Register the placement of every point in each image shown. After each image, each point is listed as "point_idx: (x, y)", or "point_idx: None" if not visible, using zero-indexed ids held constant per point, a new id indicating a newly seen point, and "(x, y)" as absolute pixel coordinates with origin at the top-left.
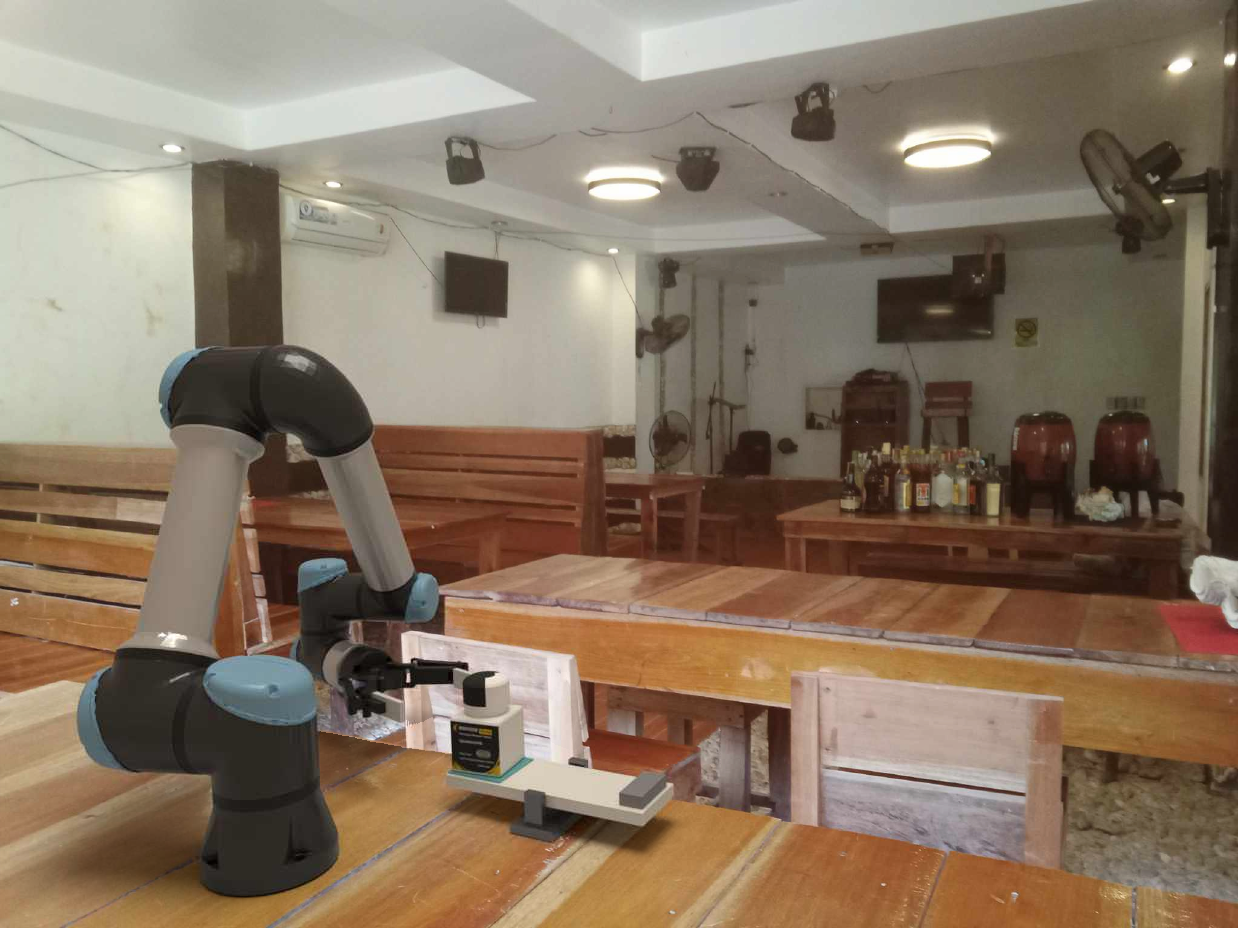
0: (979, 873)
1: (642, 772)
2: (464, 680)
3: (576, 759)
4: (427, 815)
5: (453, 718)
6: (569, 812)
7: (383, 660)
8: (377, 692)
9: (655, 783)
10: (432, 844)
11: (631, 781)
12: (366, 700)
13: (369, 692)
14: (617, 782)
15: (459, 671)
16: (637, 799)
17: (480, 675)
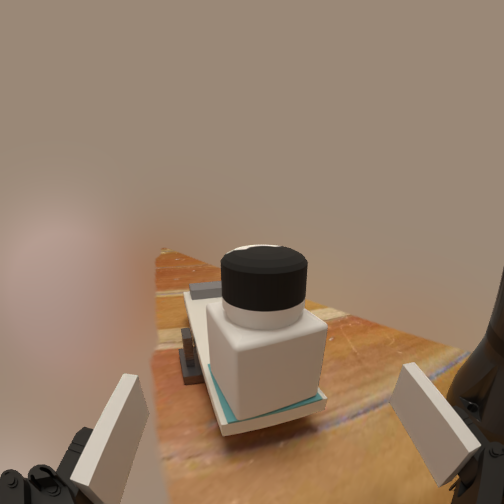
0: (167, 263)
1: (195, 290)
2: (301, 261)
3: (186, 334)
4: (346, 431)
5: (323, 322)
6: None
7: None
8: (467, 444)
9: (207, 282)
10: (363, 384)
11: (196, 304)
12: (486, 441)
13: (487, 460)
14: (204, 307)
15: (101, 456)
16: None
17: (272, 251)
